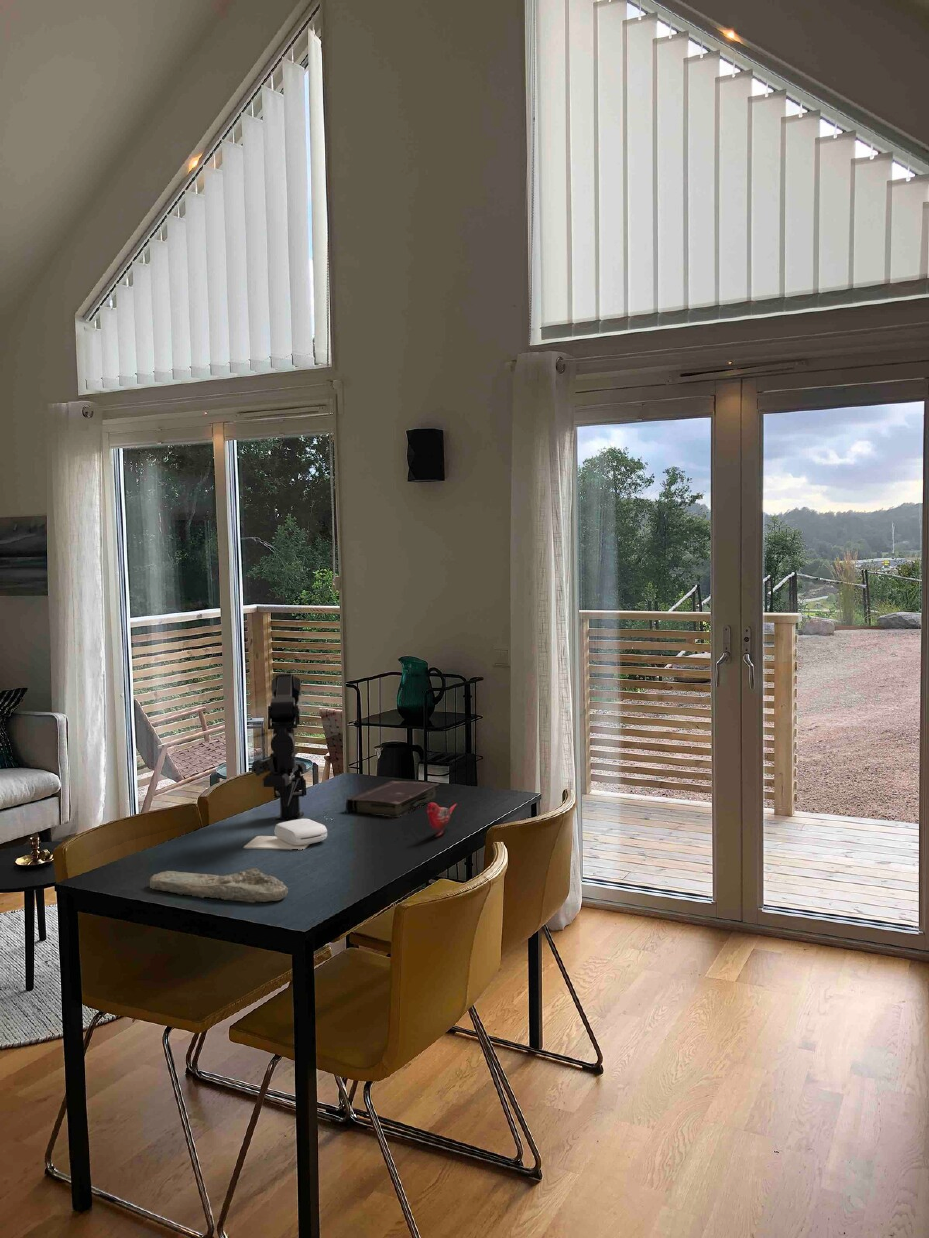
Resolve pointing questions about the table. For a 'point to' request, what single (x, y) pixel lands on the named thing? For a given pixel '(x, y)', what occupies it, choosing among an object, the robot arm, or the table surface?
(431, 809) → the decorative bird figurine
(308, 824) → the photo printer
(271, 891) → the elongated rock
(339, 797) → the table surface
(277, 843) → the mat
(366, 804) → the diary
